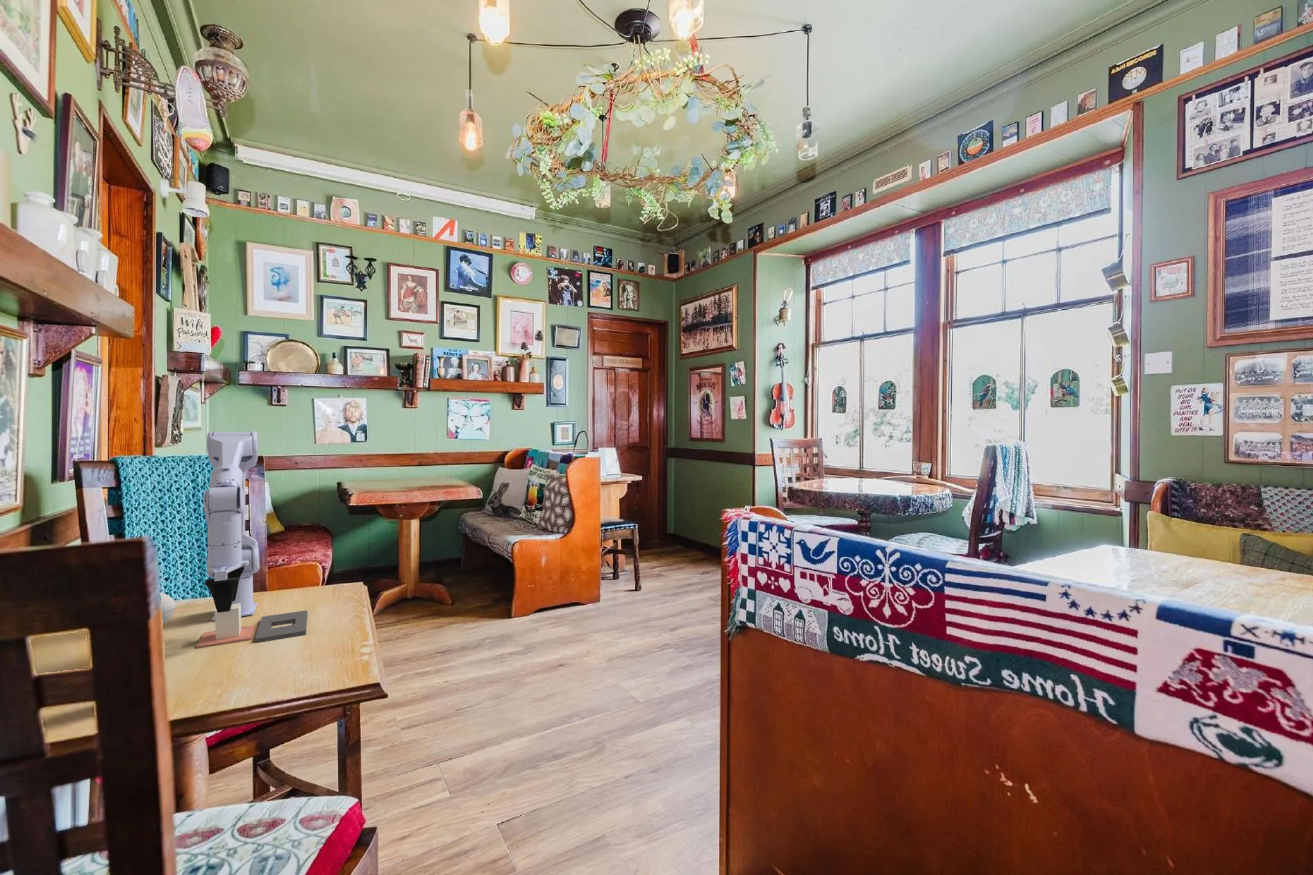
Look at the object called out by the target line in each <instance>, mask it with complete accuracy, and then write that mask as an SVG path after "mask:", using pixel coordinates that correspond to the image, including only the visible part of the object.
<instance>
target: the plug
mask: <svg viewBox="0 0 1313 875" xmlns="http://www.w3.org/2000/svg"><path fill="white" fill-rule="evenodd" d="M214 614H215V620H214V621H215V622H214V625H215V627H214V628H215V630H214V631H215V632H216V640H217V639H224V638H230V637H237V636H239V635H240V633H241V627H242V616H241V603H237V604H232V606H231V609H230V611H228V612H220V613H218V612H217V610H216V609H215V610H214Z"/></svg>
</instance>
